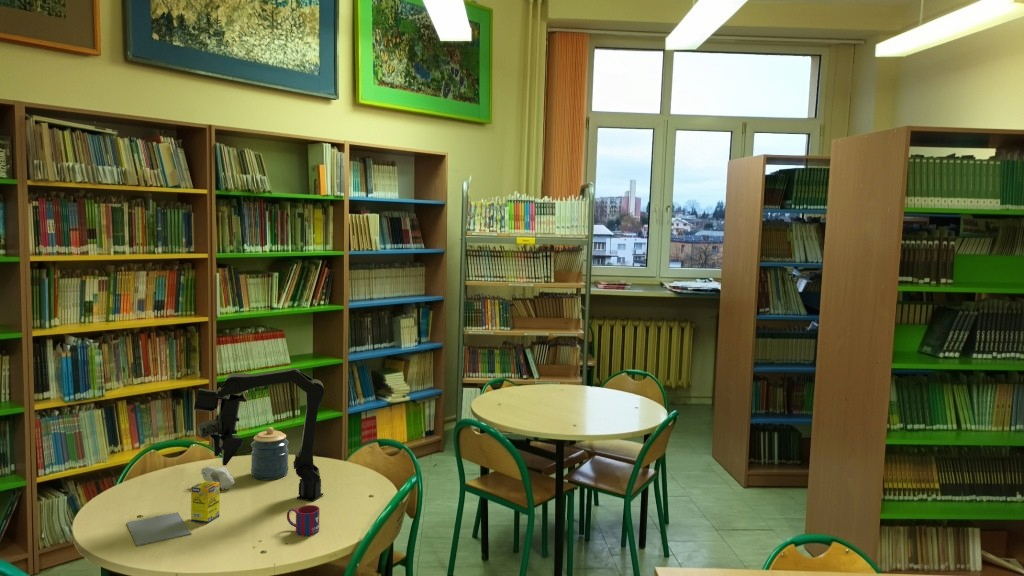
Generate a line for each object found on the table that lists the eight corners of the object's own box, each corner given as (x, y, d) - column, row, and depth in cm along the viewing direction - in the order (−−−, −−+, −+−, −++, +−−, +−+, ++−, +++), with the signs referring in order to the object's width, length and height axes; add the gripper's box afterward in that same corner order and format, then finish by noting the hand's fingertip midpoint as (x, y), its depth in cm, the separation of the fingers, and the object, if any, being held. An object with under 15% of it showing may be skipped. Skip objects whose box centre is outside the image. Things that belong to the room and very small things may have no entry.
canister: (279, 466, 257) (279, 420, 256) (294, 475, 247) (294, 428, 246) (245, 473, 248) (245, 426, 247) (259, 483, 238) (259, 434, 237)
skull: (226, 486, 227) (204, 459, 229) (213, 502, 230) (192, 475, 232) (243, 477, 235) (221, 451, 237) (230, 492, 238) (209, 467, 240)
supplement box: (207, 524, 204) (208, 488, 203) (190, 521, 205) (190, 486, 204) (220, 516, 210) (220, 482, 209) (203, 514, 211) (203, 480, 210)
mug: (310, 538, 197) (310, 515, 196) (281, 532, 200) (281, 509, 200) (323, 529, 203) (324, 507, 203) (295, 523, 206) (296, 501, 206)
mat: (177, 513, 211) (177, 512, 211) (191, 534, 197) (191, 533, 197) (126, 523, 202) (126, 522, 202) (136, 546, 188) (136, 544, 188)
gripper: (194, 405, 219) (186, 452, 219) (210, 421, 205) (201, 471, 205) (229, 405, 226) (221, 451, 227) (247, 421, 212) (238, 470, 212)
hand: (220, 460), depth 217 cm, fingers open, 9 cm apart
